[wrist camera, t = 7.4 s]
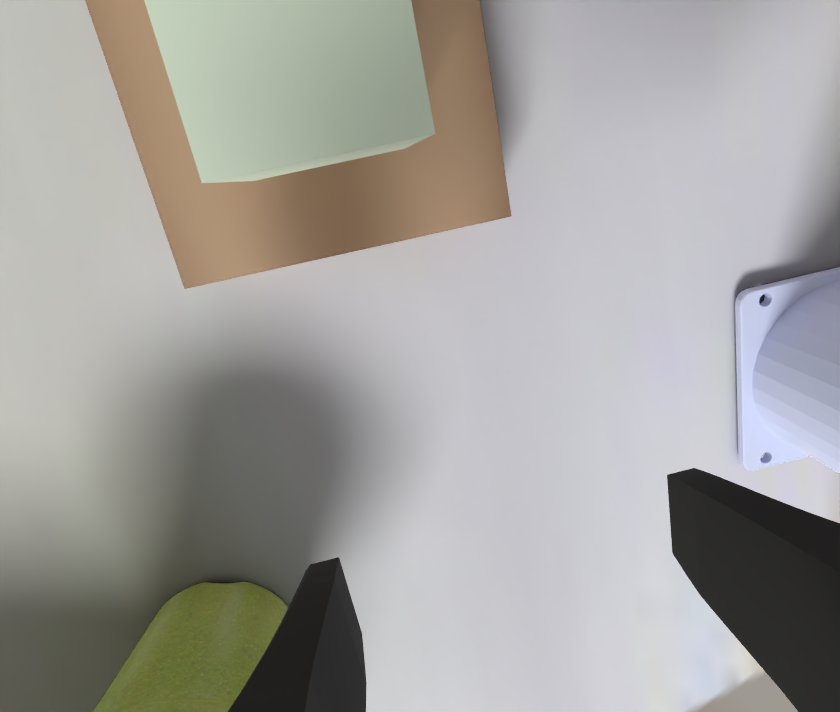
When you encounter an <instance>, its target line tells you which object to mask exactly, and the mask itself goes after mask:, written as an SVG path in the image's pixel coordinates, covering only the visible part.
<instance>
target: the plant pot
mask: <svg viewBox="0 0 840 712" xmlns="http://www.w3.org/2000/svg"><path fill="white" fill-rule="evenodd" d="M287 610H288V606H287V605H286V604H285V603H284V602H283V601H282V600H281V599H280V598H279V597H278V596H276V595H275V594H274V593H272V592H270V591H269V590H267V589H265V588H263V587H261V586H258V585H255V584H253V583H249V582H237V583H223V584H221V583H209V582H203V583H200V584H196V585H193V586H191V587H188V588H186V589H184V590H183V591H181V592H179V593H177V594H176V595H175V596H173V597H172V598H171V599H169V600H168V601H167V602H166V603H165V604H164V605H163V606H162V607H161V609H160V610H159V611H158V613H157V614H156V616H155V617H154V619H153V620H152V622H151V623H150V625H149V626H148V628H147V630H146V631H145V633H144V634H143V636H142V637H141V639H140V640H139V642H138V643H137V645H136V647H135V648H134V650H133V651H132V653H131V654H130V656H129V657H128V659H127V660H126V662H125V664H124V665H123V667H122V668H121V670H120V671H119V673H118V674H117V676H116V677H115V679H114V680H113V682H112V683H111V685H110V687H109V688H108V690H107V691H106V693H105V694H104V696H103V697H102V699H101V700H100V702H99V703H98V705H97V706H96V708H95V709H94V711H93V712H228V710H229V709H230V707H231V706H232V704H233V703H234V701H235V700H236V698H237V697H238V695H239V694H240V692H241V690H242V689H243V687H244V686H245V684H246V682H247V681H248V679H249V677H250V676H251V674H252V672H253V671H254V669H255V667H256V666H257V664H258V662H259V661H260V659H261V658H262V656H263V654H264V652H265V651H266V649H267V647H268V645H269V644H270V642H271V640H272V638H273V636H274V634H275V632H276V630H277V629H278V627H279V625H280V623H281V621H282V619H283V617H284V615H285V613H286V611H287Z"/></svg>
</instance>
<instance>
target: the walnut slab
mask: <svg viewBox="0 0 840 712" xmlns="http://www.w3.org/2000/svg"><path fill="white" fill-rule="evenodd" d="M85 1H86V4H87V7H88V10H89V13H90V15H91V18H92V21H93V24H94V27H95V30H96V33H97V36H98V39H99V42H100V44H101V47H102V50H103V53H104V56H105V59H106V62H107V65H108V68H109V71H110V73H111V76H112V79H113V82H114V85H115V88H116V91H117V94H118V97H119V100H120V102H121V105H122V108H123V111H124V114H125V117H126V120H127V123H128V126H129V129H130V132H131V134H132V137H133V140H134V143H135V146H136V149H137V152H138V155H139V158H140V161H141V163H142V166H143V169H144V172H145V175H146V178H147V181H148V184H149V187H150V190H151V192H152V195H153V198H154V201H155V204H156V207H157V210H158V213H159V216H160V219H161V221H162V224H163V227H164V230H165V233H166V236H167V239H168V242H169V245H170V248H171V250H172V253H173V256H174V259H175V262H176V265H177V268H178V271H179V274H180V277H181V280H182V282H183V285H184V288H185V289H186V288H191V287H195V286H200V285H204V284H209V283H213V282H218V281H222V280H227V279H231V278H236V277H240V276H245V275H249V274H254V273H258V272H263V271H267V270H272V269H276V268H281V267H285V266H290V265H294V264H299V263H303V262H308V261H312V260H317V259H321V258H326V257H330V256H335V255H339V254H344V253H348V252H353V251H357V250H362V249H366V248H371V247H375V246H380V245H384V244H389V243H393V242H398V241H402V240H407V239H411V238H416V237H420V236H425V235H429V234H434V233H438V232H443V231H447V230H452V229H456V228H461V227H465V226H470V225H474V224H479V223H483V222H488V221H492V220H497V219H501V218H506V217H510V216H511V211H510V204H509V197H508V190H507V183H506V177H505V170H504V163H503V156H502V149H501V143H500V136H499V129H498V122H497V115H496V109H495V102H494V95H493V88H492V81H491V75H490V68H489V61H488V54H487V47H486V40H485V34H484V27H483V20H482V13H481V6H480V0H411V2H412V8H413V13H414V19H415V24H416V30H417V35H418V41H419V46H420V52H421V57H422V63H423V68H424V74H425V79H426V85H427V90H428V96H429V102H430V107H431V113H432V118H433V124H434V129H435V134H433V135H431V136H429V137H427V138H425V139H423V140H421V141H419V142H417V143H415V144H413V145H411V146H409V147H407V148H405V149H401V150H396V151H392V152H387V153H382V154H377V155H373V156H368V157H363V158H359V159H354V160H349V161H345V162H340V163H335V164H331V165H326V166H321V167H317V168H312V169H307V170H303V171H298V172H293V173H289V174H284V175H279V176H275V177H270V178H265V179H261V180H256V181H243V182H220V183H202V182H201V179H200V176H199V173H198V170H197V166H196V163H195V160H194V157H193V154H192V151H191V147H190V144H189V141H188V138H187V135H186V132H185V128H184V125H183V122H182V119H181V116H180V113H179V109H178V106H177V103H176V100H175V97H174V94H173V90H172V87H171V84H170V81H169V78H168V74H167V71H166V68H165V65H164V62H163V59H162V55H161V52H160V49H159V46H158V43H157V40H156V36H155V33H154V30H153V27H152V24H151V21H150V17H149V14H148V11H147V8H146V5H145V2H144V0H85Z"/></svg>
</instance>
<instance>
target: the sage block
mask: <svg viewBox="0 0 840 712" xmlns="http://www.w3.org/2000/svg"><path fill="white" fill-rule="evenodd" d="M144 2H145V5H146V8H147V11H148V14H149V17H150V21H151V24H152V27H153V30H154V33H155V36H156V40H157V43H158V46H159V49H160V52H161V55H162V59H163V62H164V65H165V68H166V71H167V74H168V78H169V81H170V84H171V87H172V90H173V94H174V97H175V100H176V103H177V106H178V109H179V113H180V116H181V119H182V122H183V125H184V128H185V132H186V135H187V138H188V141H189V144H190V147H191V151H192V154H193V157H194V160H195V163H196V166H197V170H198V173H199V176H200V179H201V182H202V183H220V182H243V181H256V180H261V179H265V178H270V177H275V176H279V175H284V174H289V173H293V172H298V171H303V170H307V169H312V168H317V167H321V166H326V165H331V164H335V163H340V162H345V161H349V160H354V159H359V158H363V157H368V156H373V155H377V154H382V153H387V152H392V151H396V150H401V149H405V148H407V147H409V146H411V145H413V144H415V143H417V142H419V141H421V140H423V139H425V138H427V137H429V136H431V135H433V134H435V129H434V124H433V118H432V113H431V107H430V102H429V96H428V90H427V85H426V79H425V74H424V68H423V63H422V57H421V52H420V46H419V41H418V35H417V30H416V24H415V19H414V13H413V8H412V2H411V0H144Z"/></svg>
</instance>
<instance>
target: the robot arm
mask: <svg viewBox="0 0 840 712" xmlns="http://www.w3.org/2000/svg"><path fill="white" fill-rule="evenodd" d="M763 294H764V295H765V298H764V301H763V302H762V303H761V304H759V299H760V297H761V296H762V295H763ZM735 320H736V366H737V411H738V457H739V463H740V464H741V466H743V467H744V468H745V469H747V470H750V471H752V470H758V469H762V468H766V467H770V466H774V465H778V464H781V463H785V462H789V461H793V460H797V459H801V458H805V457H809V456H811V457H813V458H814V459H816V460H818V461H819V462H821V463H822V464H824V465H826V466H827V467H829V468H831V469H832V470H834V471H836V472H837V473H839V474H840V267H838V268H833V269H829V270H825V271H820V272H816V273H812V274H808V275H803V276H799V277H795V278H791V279H786V280H782V281H778V282H774V283H769V284H765V285H761V286H757V287H752V288H748V289H745V290H743V291H742V292H741V293H739V294H738V296H737V298H736V302H735ZM764 453H765V455H764V457H763V458H761V456H762V455H763V454H764ZM760 458H761V459H760ZM667 479H668V494H669V508H670V523H671V537H672V552H673V554H674V556H675V557H676V559H677V561H678V562H679V564H680V565H681V567H682V568H683V570H684V572H685V573H686V575H687V576H688V578H689V579H690V581H691V582H692V584H693V585H694V587H695V588H696V589H697V591H698V592H699V594H700V595H701V596H702V598H703V599H704V600H705V601H706V602H707V604H708V605H709V606H710V607H711V608H712V610H713V611H714V612H715V613H716V614H717V616H718V617H719V618H720V619H721V620H722V621H723V623H724V624H725V625H726V626H727V627H728V629H729V630H730V631H731V632H732V633H733V634H734V635H735V637H736V638H737V639H738V640H739V641H740V642H741V644H742V645H743V646H744V647H745V648H746V649H747V651H748V652H749V653H750V654H751V655H752V656H753V658H754V659H755V660H756V661H757V662H758V663H759V665H760V666H761V667H762V668H763V669H764V670H765V672H766V673H767V674H768V675H769V676H770V677H771V679H772V680H773V681H774V682H775V683H776V684H777V686H778V687H779V688H780V689H781V690H782V692H783V693H784V694H785V695H786V697H787V698H788V699H789V700H790V702H791V703H792V704H793V705H794V706H795V708H796V709H797V710H798V712H840V523H837V522H834V521H831V520H828V519H825V518H822V517H820V516H817V515H814V514H811V513H809V512H806V511H803V510H801V509H798V508H795V507H793V506H790V505H788V504H785V503H782V502H780V501H777V500H775V499H772V498H770V497H767V496H765V495H762V494H760V493H757V492H755V491H752V490H750V489H747V488H745V487H742V486H740V485H737V484H735V483H733V482H730V481H728V480H725V479H723V478H720V477H717V476H715V475H712V474H710V473H707V472H704V471H701V470H698V469H695V468H693V469H689V470H685V471H681V472H677V473H673V474H669V475H667ZM228 712H366V674H365V662H364V652H363V641H362V633H361V629H360V626H359V623H358V619H357V616H356V613H355V609H354V606H353V603H352V599H351V596H350V593H349V589H348V586H347V583H346V580H345V576H344V573H343V570H342V566H341V563H340V560H339V558H335V559H331V560H327V561H323V562H319V563H315V564H311V565H310V566H309V567H308V569H307V570H306V572H305V574H304V576H303V579H302V581H301V583H300V585H299V587H298V589H297V591H296V593H295V595H294V597H293V599H292V602H291V604H290V606H289V608H288V610H287V611H286V613H285V615H284V617H283V619H282V621H281V623H280V625H279V627H278V629H277V630H276V632H275V634H274V636H273V638H272V640H271V642H270V644H269V645H268V647H267V649H266V651H265V652H264V654H263V656H262V658H261V659H260V661H259V662H258V664H257V666H256V667H255V669H254V671H253V672H252V674H251V676H250V677H249V679H248V681H247V682H246V684H245V686H244V687H243V689H242V690H241V692H240V694H239V695H238V697H237V698H236V700H235V701H234V703H233V704H232V706H231V707H230V709H229V710H228Z"/></svg>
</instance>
